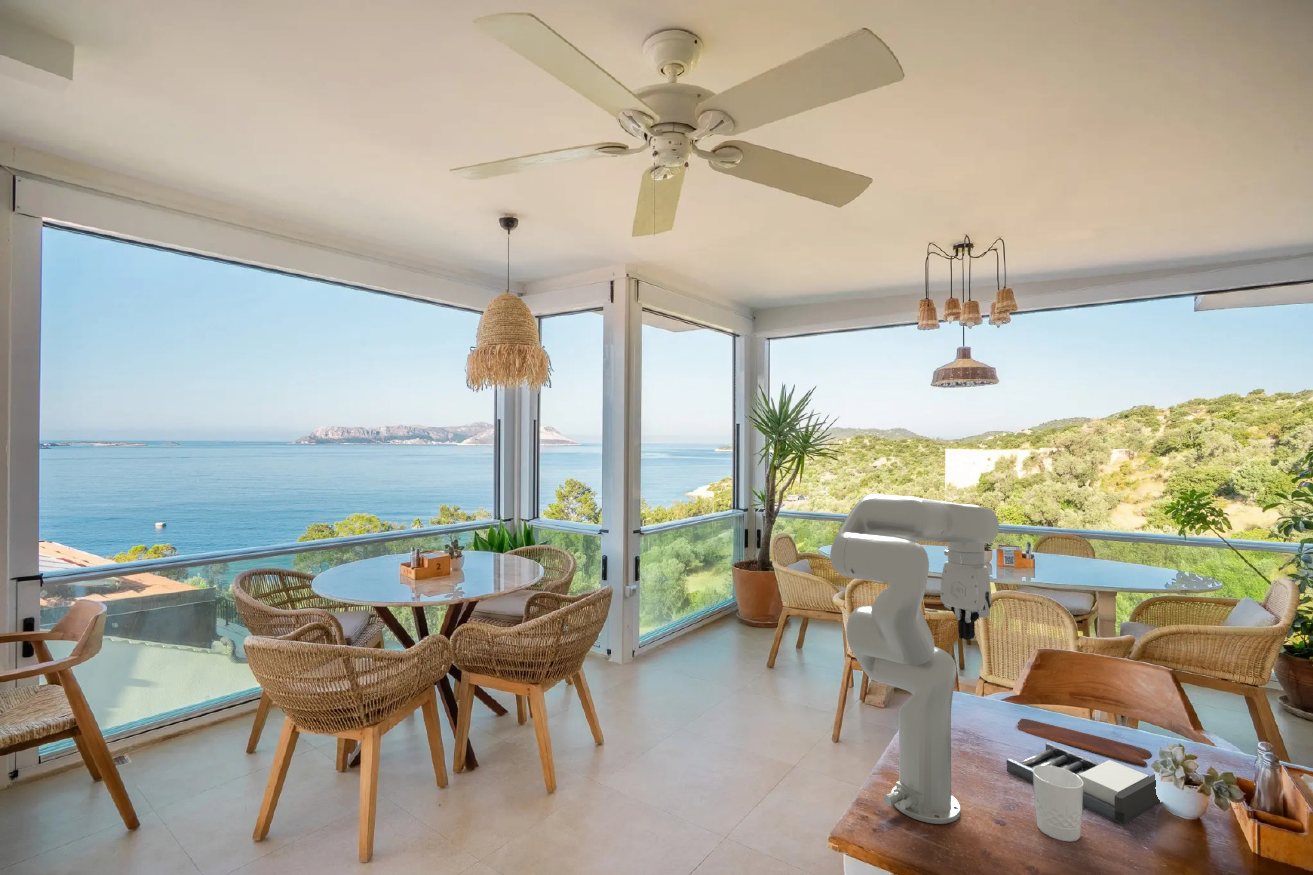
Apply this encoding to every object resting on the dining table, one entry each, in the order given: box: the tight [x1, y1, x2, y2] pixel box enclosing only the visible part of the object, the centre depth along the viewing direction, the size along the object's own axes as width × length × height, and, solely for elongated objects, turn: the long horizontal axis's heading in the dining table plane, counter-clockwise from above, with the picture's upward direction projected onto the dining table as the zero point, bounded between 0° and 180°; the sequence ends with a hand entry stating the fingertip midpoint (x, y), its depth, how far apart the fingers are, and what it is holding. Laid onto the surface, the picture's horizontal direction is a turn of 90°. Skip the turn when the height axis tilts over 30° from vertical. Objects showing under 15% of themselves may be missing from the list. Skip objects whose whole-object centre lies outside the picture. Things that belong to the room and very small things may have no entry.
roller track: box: [1006, 742, 1161, 826], centre depth 128 cm, size 16×22×5 cm
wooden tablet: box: [1016, 718, 1152, 768], centre depth 147 cm, size 27×10×2 cm, turn 46°
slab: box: [1078, 759, 1150, 806], centre depth 123 cm, size 12×7×3 cm, turn 119°
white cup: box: [1032, 765, 1084, 842], centre depth 113 cm, size 8×8×10 cm
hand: (966, 637), depth 140 cm, fingers closed
